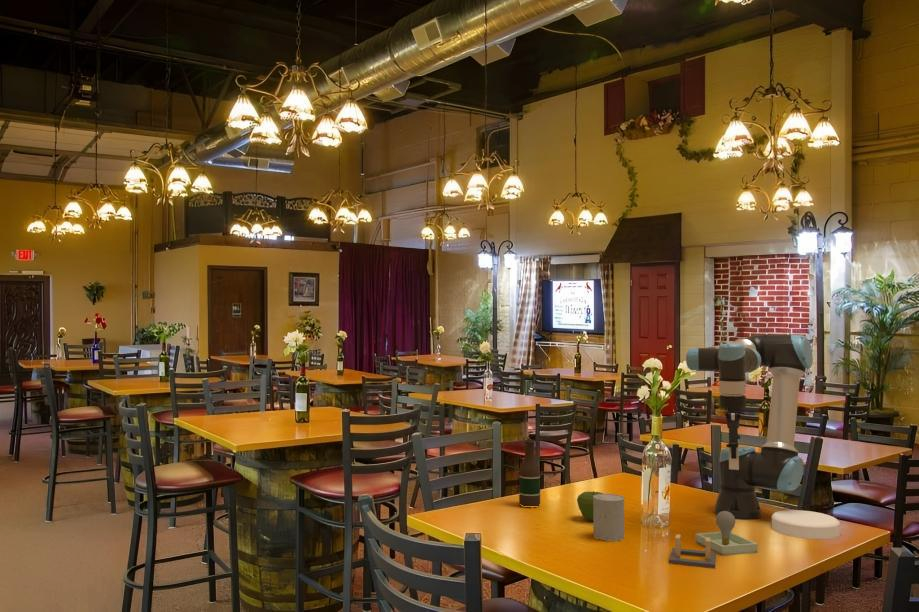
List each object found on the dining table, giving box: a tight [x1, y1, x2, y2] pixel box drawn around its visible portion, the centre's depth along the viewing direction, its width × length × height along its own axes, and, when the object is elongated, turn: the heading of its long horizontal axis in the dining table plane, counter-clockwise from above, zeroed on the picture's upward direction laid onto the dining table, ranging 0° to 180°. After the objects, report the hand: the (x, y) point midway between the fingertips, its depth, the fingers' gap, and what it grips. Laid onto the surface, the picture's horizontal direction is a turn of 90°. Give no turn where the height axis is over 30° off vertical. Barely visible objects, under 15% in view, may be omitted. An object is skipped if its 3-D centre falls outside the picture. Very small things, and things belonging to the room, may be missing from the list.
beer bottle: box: [518, 438, 541, 507], centre depth 267 cm, size 8×8×24 cm
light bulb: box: [715, 511, 736, 545], centre depth 217 cm, size 6×6×10 cm
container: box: [771, 509, 841, 540], centre depth 235 cm, size 20×20×5 cm
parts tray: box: [695, 531, 759, 556], centre depth 217 cm, size 14×12×2 cm
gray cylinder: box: [592, 493, 625, 542], centre depth 227 cm, size 10×10×12 cm
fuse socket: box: [668, 533, 717, 569], centre depth 205 cm, size 12×12×6 cm
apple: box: [576, 490, 605, 522], centre depth 247 cm, size 11×10×10 cm
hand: (734, 464), depth 222 cm, fingers open, 13 cm apart
